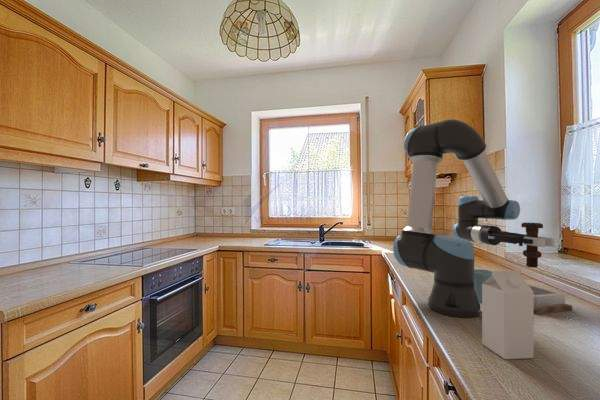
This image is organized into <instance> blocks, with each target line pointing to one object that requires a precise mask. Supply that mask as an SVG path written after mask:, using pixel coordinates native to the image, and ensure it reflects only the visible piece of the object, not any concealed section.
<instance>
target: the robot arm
mask: <svg viewBox="0 0 600 400" xmlns="http://www.w3.org/2000/svg"><path fill="white" fill-rule="evenodd" d="M403 150H405V151H404V152H405V154H406V155H407V157H408V159H409V160H408V161H410V163H412V168H411V169H412V171H411V180H410V187H409V188H410V190H409V199H408V200H409V201H408V209H407V220H406V226H404V228H402V229H401V234H400V235H398V236H396V238H395V240H394V242H393V244H392V245H393V246H392V250H393V255H394V258H395V260H396V261H397V263H398V264H399V265H402V266H403V267H407V268H409V269H416V270H420V271H424V272H429V273H433V284H432V285H433V286H432V288H431V291H430V295H429V297H428V302H427V304H428V307H429V308H430V309H431V310H432V311H434V312H436V313H438V314H442V315H446V316H450V317H456V318H475V317H478V316H480V315H481V313H482V309H481V304H480V302H478V298H477V295H476V292H475V289H474V269H475V256H476V255H475V249H474V244H473V243H478V244H479V245H483V244H484V245H490V246H497V245H499V244H500V243H508V244H513V245H517V244H518V246H519V247H523V245H526V246H527V245H531V246H538V248H546V247H552V248H554V247H555V246H556V243H555V239H556V238H553V237H545V236H538V238H534V237H526V233H525V234H523V233H517V232H509V231H507V230H506V231H505V230H503V231H502V229H501V228H500V227H499V226H496V225H489V224H479V219H487V220H488V219H489V220H502V221H504V220H505V221H506V220H509V221H510V220H516V219H518V218H519V217H520V213H521V206H520V204H519V202H518V201H517V200H512V199H510V200H509V198H508V197H507V196H508V195H506V192H505V191H504V190H505V189H504V188H503V186H502V183H501V182H500V179H499V178H498V176H497V174H496V171H495V169H494V167H493V165H492V163H491V160H490V159H489V157H488V154H487V153H486V150H487V144H486V142H485V140H484V138H483V137H482V135H481V134H480V132H478V131H477V130H476V129H475V128H474V127H473V126H471V125H470V124H468V123H466V122H464V121H462V120H458V119H453V118H452V119H446V120H441V121H438V122H433V123H429V124H425V125H419V126H417V127H414V128H412V129H410V130H409V131H408V132H407V134H406V136H405V138H404V142H403ZM450 153H451V154H454V155H455V156H456V158H457V159H458V160H459V161H462V163H463V164H464V167H465V168H466V170H467V172H468V174H469V176H470V177H471V180H472V182H473V183H474V185H475V187H476V189H477V191H478V192H479V195H480V196H481V199H479V197H478V196H477V195H461V196H459V197H458V205H457V208H458V209H457V211H458V213H457V216H458V217H457V218H458V219H457V220H458V221H457V223H456V222H455V224H454V225H453V227H452V231H451V232H452V235H447V234H445V235H444V234H438V235H436V232H434V230H433V228H432V225H433V217H434V205H435V197H436V196H435V195H436V186H437V185H436V184H437V173H438V165H440V164H441V162H443V158H444V155H445V154H450Z"/></svg>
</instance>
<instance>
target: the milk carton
mask: <svg viewBox="0 0 600 400" xmlns="http://www.w3.org/2000/svg"><path fill="white" fill-rule="evenodd" d="M491 271H492V276H491V277H490V278H489V279H487V280H486V281H485V282H484V283H482V303H481V313H482V314H481V315H482V316H481V322H482V323H481V325H482V326H481V336H482V337H481V342H482V345H484V346H485V348H487V349H489V350H490V351H492V352H493V353H494V354H496V355H497V354H498V355H497V356H498V357H500V356H501V358H502V359H503V360H519V359H521V360H522V359H533V358H534V356H535V355H534V352H535V351H534V346H535V344H534V343H535V342H534V341H535V340H534V339H535V338H534V335H535V334H534V333H535V332H534V331H535V330H534V315H535V314H534V311H533V290H532V289H531V288H530V286H529V285H528V284H529V283H528V282H527V281H526V280H525V278H523V276H522V271H521V270H520V269H518V270H517V269H515V270H510V269H509V270H491Z"/></svg>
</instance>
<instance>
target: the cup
mask: <svg viewBox="0 0 600 400" xmlns="http://www.w3.org/2000/svg"><path fill="white" fill-rule="evenodd" d="M492 271H493V270H489V269H479V268H474V289H475V292H476V295H477V298H478V302H479V304H480V303H481V304H482V283H484V282H485V281H486V280H487V279H489V278H490V277H491V276H492Z"/></svg>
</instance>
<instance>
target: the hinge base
mask: <svg viewBox="0 0 600 400" xmlns="http://www.w3.org/2000/svg"><path fill="white" fill-rule="evenodd" d="M527 284H528V285H529V286H530V288H531V289H532V290H533V311H534V315H543V314H550V313H551V314H552V313H559V312H568V311H569V312H570V311H573V305H572V304H567V303H566V294H565V293H562V292H559V291H555V290H551V289H548V288H544V287H541V286H537V285H533V284H529V283H527Z"/></svg>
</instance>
